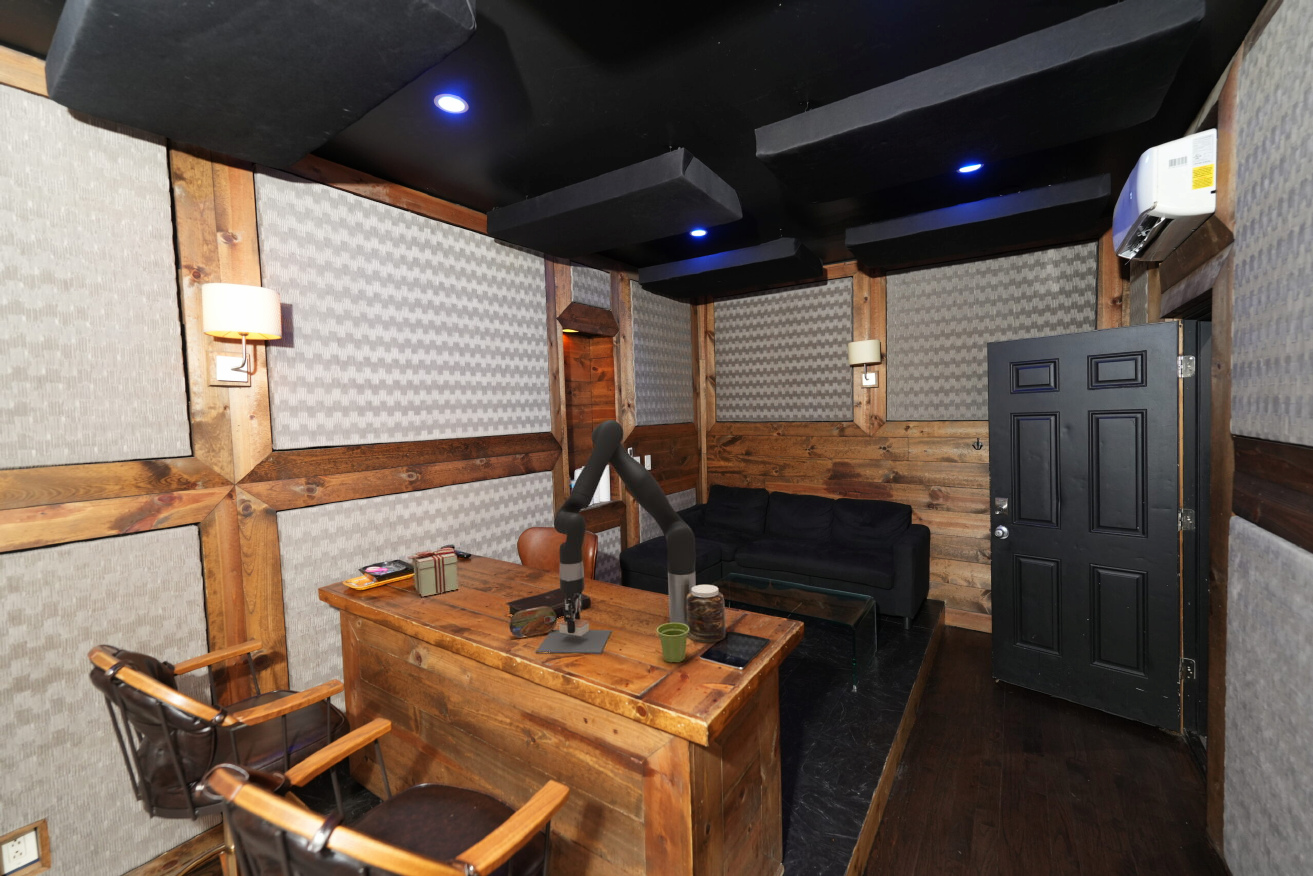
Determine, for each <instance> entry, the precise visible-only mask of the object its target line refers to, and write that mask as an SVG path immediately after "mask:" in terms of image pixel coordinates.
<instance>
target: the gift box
mask: <svg viewBox="0 0 1313 876" xmlns="http://www.w3.org/2000/svg"><path fill="white" fill-rule="evenodd" d="M407 559H408V560H412V561H411V563H412V564H413V575H414V589H415V588H416V589H417V591H418V592H419V593H420V594H421V595H422V596H426V595H430V594H436V593H441V592H445V591H450V590H454V591H456V590H455V589H458V590H459V583H458V571H457V570H458V567H457V563H458V555H457V554H455V551H454V548H453V547H450V546H449V547H448V546H447V547H443V548H440V549H439V550H438V549H437V550H436V551H432V550H427V551H426V550H423V551H418V552H417V553H415V555H411V556H407ZM417 591H416V592H417ZM418 592H417V593H418ZM450 592H451V591H450ZM441 594H442V593H441Z"/></svg>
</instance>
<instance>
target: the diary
mask: <svg viewBox="0 0 1313 876" xmlns="http://www.w3.org/2000/svg"><path fill="white" fill-rule="evenodd" d="M565 598H566V594H565V593H562V592H561V591H560V587H558V588H556V589H553V590H549V591H545V592H543V593H538V594H536V595H535V594H534V595H531V596H526V597H522V598H518V599H514V600H512V601H509V602H505V605H507V606H509V614H512V615H514V614H515V613H517V612H519V611H522V610H527V609H532V608H537V607H542V606H547V607H550V608H551V609H552V610H553V611H554V612H555V614H556V616H557V618H558V619H560V618H559V617H561V616H564V613H563V603H565ZM591 602H592V601H591V597H590V596H589V595H586V594H584V593H582V609H584V610H586V609H585V608H587V609H589V608H588V607H590V608H591V605H592V603H591ZM582 609H581V611H583V610H582ZM561 618H562V617H561Z"/></svg>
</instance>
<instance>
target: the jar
mask: <svg viewBox="0 0 1313 876" xmlns="http://www.w3.org/2000/svg"><path fill="white" fill-rule="evenodd" d="M691 590H692V592H691V593H689V594H688V595H687V626H688V627H689V632H688V635H687V637H688V638H689V639H690V640H692V641H694V642H697V643H705V644H709V643H716V642H720V641H722V640H724V639H725V638H726V634H727V633H726V610H725V609H726V607H725V606H726V605H725V598H724V595H723V593H722V592H720V591H719V588H718V586H716V585H713V584H698V585H696V586H694V587H692V589H691Z"/></svg>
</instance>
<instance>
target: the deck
mask: <svg viewBox="0 0 1313 876" xmlns="http://www.w3.org/2000/svg"><path fill="white" fill-rule="evenodd" d="M589 622H590V621H589V620H585V619H580V620H579V619H575V632H574V633H568V630H567V622H565V621H564V619H562V620H561V621H560V622H559V623H558V626H559V627H558V630H559V632H561V633H567V634H572V635H578V636H582V635H583V634H585V633H586V632H587V631H589V630H590V626H589V625H590V623H589Z"/></svg>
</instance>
